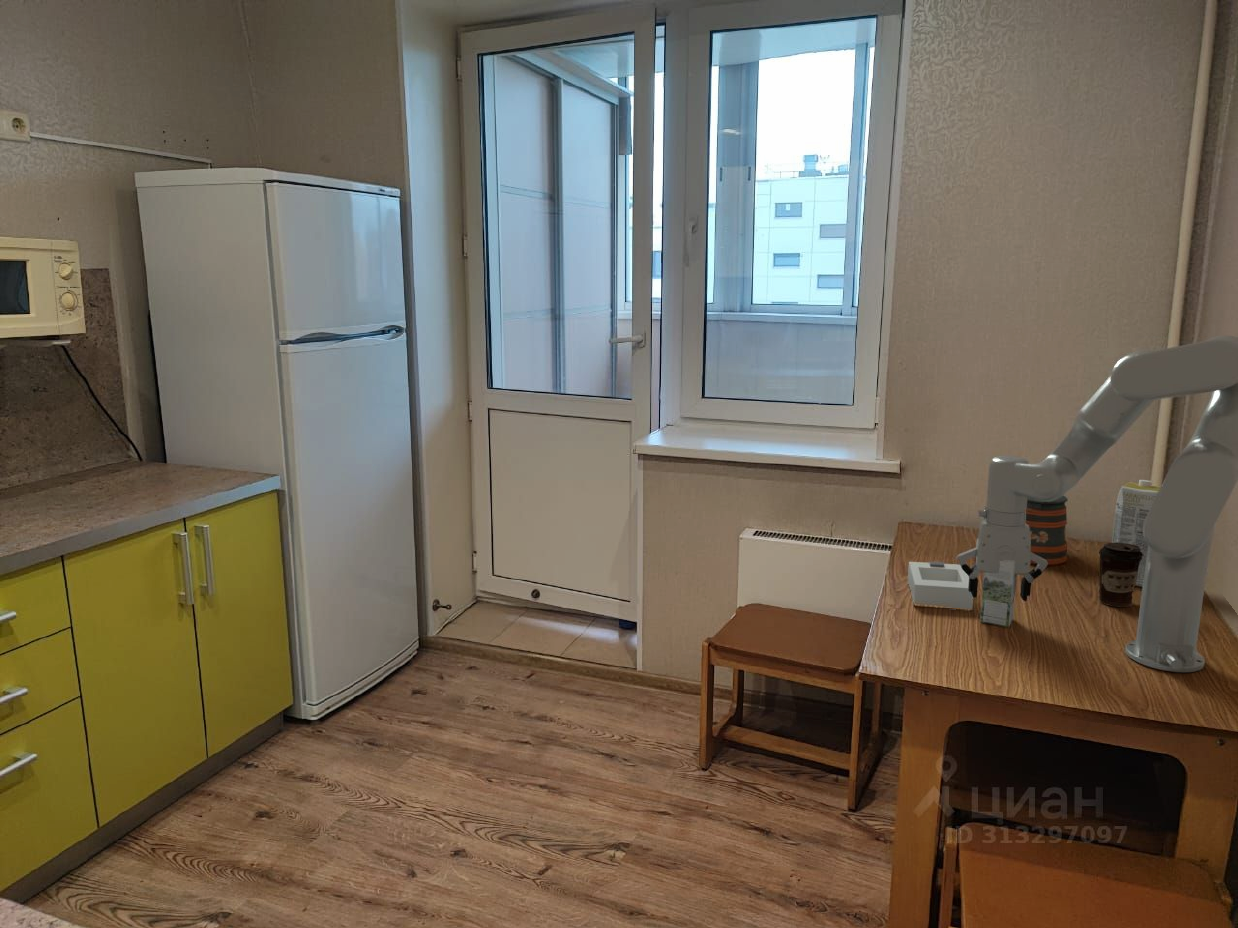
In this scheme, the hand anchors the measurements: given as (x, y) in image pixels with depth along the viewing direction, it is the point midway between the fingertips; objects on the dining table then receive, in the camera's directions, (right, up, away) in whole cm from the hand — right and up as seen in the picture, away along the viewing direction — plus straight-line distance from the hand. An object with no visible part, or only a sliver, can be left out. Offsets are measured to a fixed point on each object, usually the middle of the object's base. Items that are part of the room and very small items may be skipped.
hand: (998, 596), depth 180 cm
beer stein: (+28, +4, +44) cm, 52 cm away
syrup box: (0, -5, +1) cm, 5 cm away
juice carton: (+42, 0, +24) cm, 48 cm away
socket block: (-7, -2, +16) cm, 17 cm away
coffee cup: (+30, -3, +10) cm, 32 cm away
